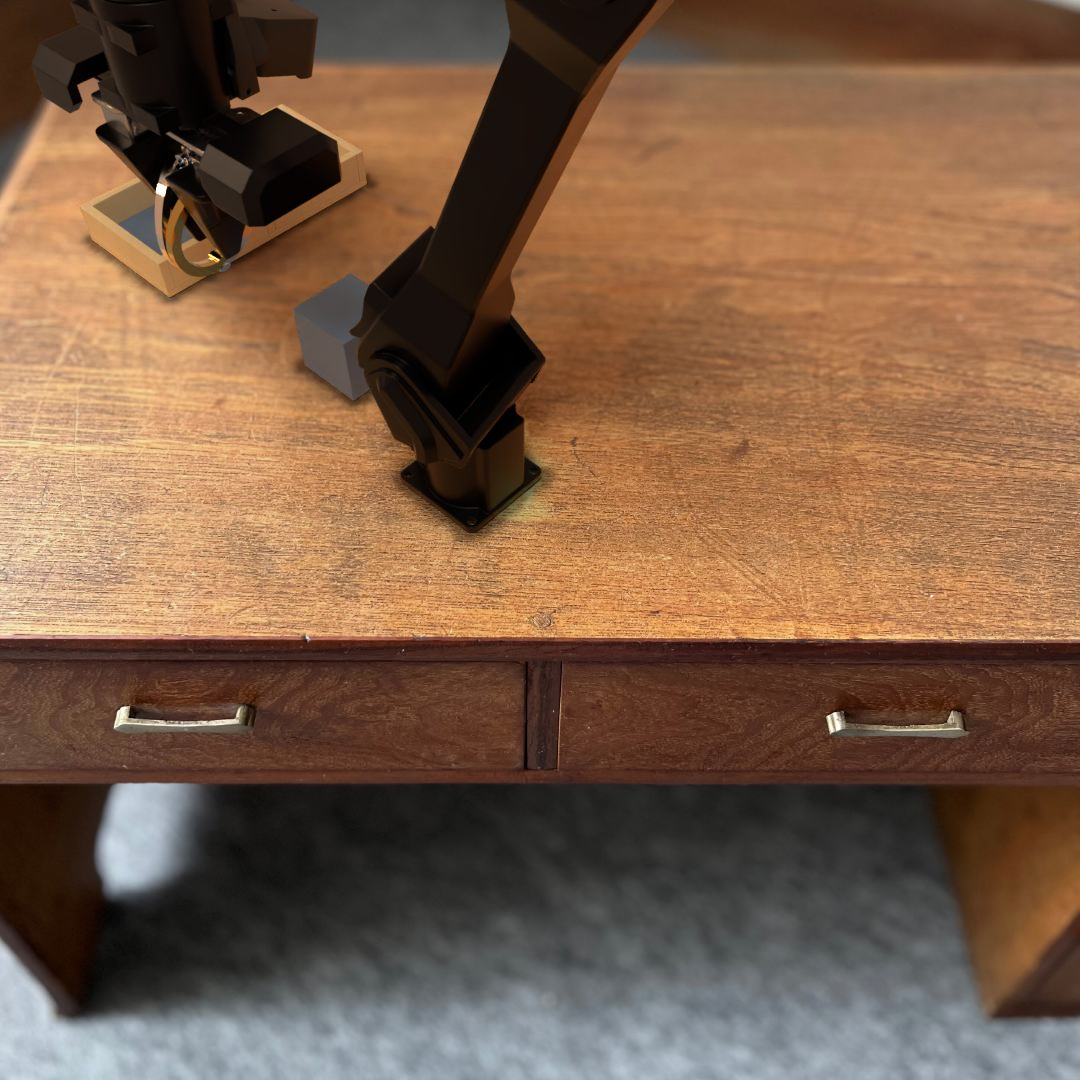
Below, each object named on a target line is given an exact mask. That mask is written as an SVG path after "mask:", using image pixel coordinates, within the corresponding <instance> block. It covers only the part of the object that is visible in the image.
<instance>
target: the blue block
mask: <svg viewBox="0 0 1080 1080" xmlns="http://www.w3.org/2000/svg"><path fill="white" fill-rule="evenodd" d="M368 286H369V284H368V283H366V282H365V281H364V280H361V279H360V278H359V277H357V276H355V275H354V274H352V273H348V274H346V275H344V276H343V277H341V278H340V279H338V280H337V281H335V282H334V283H332V284H330V285H329V286H327V287H326V288H324V289H322V290H321V291H319V292H318V293H316V294H314V295H313V296H311V297H309V298H308V299H306V300H304V301H303V302H301V303H300V304H298V305H297V306H296V305H295V307H293V308H292V315H293V318H294V323H295V326H296V331H297V336H298V340H299V345H300V349H301V354H302V359H303V363H304V366H305V367H306V368H307V369H308V370H310V371H312V372H313V373H314V374H315V375H317V376H319V378H321V379H322V380H323V381H325V382H327V383H328V384H329V385H331V386H332V387H333V388H335V389H336V390H337V391H339V392H340V393H342V395H345V396H346V397H347V398H349V399H350V400H352V401H356V400H357V399H359V398H361V396H363V395H365V394H366V393H367V392H369V391H370V389H369V387H368V385H367V382H366V380H365V377H364V369H362V368H360V367H359V364H358V359H357V354H356V353H357V344H358V342H359V340H360V339H361V338H358V337H355V336H352V335H351V334H350V332H349V331H350V330H351V329H352V328H353V327H354V326H355V325H356V324H357V323H358V322H359V321H360V320H361V317H362V311H363V300H364V297H365V294H366V291H367V289H368Z"/></svg>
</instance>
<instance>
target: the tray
mask: <svg viewBox="0 0 1080 1080" xmlns="http://www.w3.org/2000/svg"><path fill="white" fill-rule="evenodd" d="M276 107H277V108H279V109H281V110H283V111H284V112H286V113H288V114H290V115H292V116H293V117H295V118H297V119H299V120H301V121H302V122H304V123H306V124H308V125H310V126H311V127H313V128H315V129H317V130H318V131H320V132H322V133H324V134H326V135H327V136H329V137H331V138H333V139H335V140H336V141H337V144H338V151H339V158H340V164H341V171H342V177H341V182H340V183H338V184H336V185H335V186H333V187H331V188H329V189H328V190H326V191H324V192H323V193H321V194H319V195H318V196H316V197H314V198H313V199H311V200H309V201H307V202H306V203H304V204H302V205H301V206H299V207H297V208H296V209H294V210H292V211H291V212H289V213H287V214H286V215H284V216H282V217H280V218H279V219H277V220H275V221H274V222H272V223H270V224H269V225H267V226H265V227H252V229H251V232H250V235H249V237H248V239H247V241H246V243H245V245H244V247H243V249H242V250H241V252H240V253H239V254H238V255H237V257H236V258H235V259H234V260H233V261H232V262H234V261H236V260H237V259H239V258H241V257H243V256H245V255H247V254H248V253H250V252H252V251H253V250H256V249H257V248H259V247H261V246H262V245H264V244H266V243H267V242H269V241H271V240H272V239H274V238H276V237H277V236H279V235H282V234H283V233H285V232H286V231H289V230H290V229H291V228H294V227H296V226H297V225H299V224H301V223H302V222H305V220H308V219H309V218H311V217H312V216H314V215H316V214H318V213H320V212H321V211H323V210H325V209H326V208H329V207H330V206H332V205H334V204H335V203H336V202H338V201H340V200H342V199H344V198H346V197H347V196H350V195H351V194H352V193H354V192H356V191H358V190H359V189H362V188H363V187H365V186H366V185H368V181H367V180H368V179H367V172H366V166H365V159H364V158H365V157H364V151H363V150H361V148H358V147H357V146H355V145H353V144H351V143H350V142H348V141H346V140H345V139H343V138H341V137H339V136H338V135H336V134H334V133H332V132H331V131H329V130H328V129H326V128H325V127H322V126H320V125H319V124H317V123H315V122H314V121H312V120H310V119H309V118H307V117H305V116H303V115H301V114H300V113H298V112H297V111H295V110H294V109H292V108H290V107H288V106H286V105H285V104H283V103H280V104H278V105H276V106H274V107H272V108H270V109H268V110H266V111H264V112H263V113H260V114H261V115H262V114H264V113H266V112H268V111H270V110H272V109H274V108H276ZM155 197H156V196H155V195H154V194H153V193H152V192H151V191H150V190H149V189H148V188H147V187H146V186H145V185H144V184H143V183H142V182H141V181H140V179H139V178H138V177H137V176H136V177H134V178H132V179H130V180H128V181H126V182H124V183H122V184H120V185H118V186H115V187H114V188H112V189H110V190H108V191H106V192H104V193H102V194H100V195H97V196H95V197H94V198H92V199H90V200H88V201H86V202H84V203H82V204H80V205H79V206H78V207H79V210H80V213H81V216H82V219H83V220H84V223H85V225H86V229H87V231H88V233H89V236H90V239H91V240H92V241H93V242H95V243H96V244H97V245H99V246H100V247H101V248H102V249H104V250H105V251H106V252H108V253H109V254H111V255H112V256H113V257H115V258H116V259H117V260H119V261H120V262H121V263H122V264H123V265H125V266H127V267H128V268H130V270H132V271H133V272H135V273H136V274H137V275H138V276H140V277H142V278H143V279H144V280H145V281H146V282H148V283H149V284H150V285H152V286H153V287H154V288H156V289H158V290H159V291H160V292H161V293H162V294H164V295H165V296H166V297H168V298H172V297H173V296H175V295H177V294H178V293H180V292H182V291H185V290H186V289H187V288H190V286H193V285H195V284H196V283H198V282H199V281H201V280H203V279H205V278H206V277H207V276H204V277H194V276H191V275H188V274H186V273H185V272H183V271H181V270H180V269H178V268H177V267H175V266H174V265H172V264H171V263H170V262H169V261H168V260H167V259H166V257H165V256H164V255H163V253H162V251H161V249H160V247H159V244H158V240H157V236H156V229H155ZM170 215H171V213H170ZM181 246H182V251H183V254H184V256H185V258H186V259H187V261H188V262H199V261H203V260H205V259H208V255H209V253H210V252H211V251H213V250H214V249H215V248H214V246H213V245H212V244H211V243H210V241H209V240H208V238H206V239H204V240H202V241H197V240H196V239H194V238H193V237H192V236H191V235H190V234H189V232H188V231H187V230H186V229H185V228H183V232H182V239H181Z"/></svg>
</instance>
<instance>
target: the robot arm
mask: <svg viewBox="0 0 1080 1080" xmlns="http://www.w3.org/2000/svg"><path fill="white" fill-rule="evenodd" d="M675 1H676V0H504V5H505V6H504V7H505V12H506V18H507V23H508V30H509V38H508V43H507V47H506V48H507V49H506V51H505V53H504V56H503V59H502V61H501V63H500V66H499V68H498V71H497V73H496V76H495V78H494V80H493V83H492V85H491V89H490V91H489V93H488V95H487V98H486V101H485V103H484V106H483V108H482V110H481V113H480V116H479V118H478V120H477V123H476V126H475V127H474V130H473V133H472V135H471V138H470V140H469V143H468V145H467V148H466V150H465V153H464V155H463V157H462V160H461V163H460V165H459V167H458V170H457V172H456V175H455V177H454V180H453V182H452V185H451V186H450V187H451V188H450V190H449V192H448V195H447V198H446V200H445V202H444V204H443V207H442V209H441V213H440V214H439V217H438V220H437V222H436V225H435V228H434V227H433V226H432V225H429V226H428V227H427V228H426V229H425V230H424V231H423V232H422V233H421V234H420V235H418V237H417V238H416V239H414V240H413V242H411V244H410V245H408V246H407V247H406V248H405V249H404V250H403V251H402V252H401V253H400V254H399V255H398V256H397V257H396V258H395V259H394V260H393V261H392V262H391V263H390V264H389V265H388V266H387V267H385V268H384V270H383V271H382V272H381V273H380V274H378V276H376V277H375V278H374V280H372V281H371V282H370V283H369V284H368V285H369V286H368V289H367V291H366V294H365V297H364V300H363V311H362V317H361V320H360V321H359V322H358V323H357V324H356V325H355V326H354V327H353V328H352V329H351V330H350V331H349V332H350V334H351V335H352V336H355V337H358V338H361V339H360V340H359V342H358V344H357V353H356V354H357V359H358V364H359V367H360V368H362V369H364V377H365V380H366V382H367V385H368V387H369V389H370V390H369V391H370V393H371V395H372V397H373V399H374V402H375V403H376V405H377V407H378V409H379V411H380V413H381V415H382V417H383V419H384V421H385V423H386V424H387V427H388V429H389V431H390V434H391V435H392V437H393V439H394V440H395V441H397V442H398V443H401V444H404V445H405V446H408V447H410V450H411V451H412V452H413V453H414V457H415V459H416V460H414V461H413V462H412V463H411V464H409V465H408V466H406V467H405V468H404V469H402V470H401V471H400V480H401V483H403V484H404V485H405V486H407V488H409V489H410V490H412V491H413V492H414V493H416V495H418V496H419V497H421V498H422V499H424V500H425V501H426V502H428V503H429V504H430V505H431V506H433V507H434V508H435V509H436V510H438V511H440V512H441V513H442V514H444V515H445V516H446V517H448V518H449V519H450V520H451V521H453V522H454V523H455V524H457V525H458V526H460V527H461V528H462V529H464V530H465V531H466V532H469V533H474V532H475V533H476V532H477V531H479V529H481V528H482V527H483V526H484V525H486V524H487V523H488V522H490V521H491V520H492V519H493V518H494V517H496V516H497V515H498V514H500V512H502V511H503V510H504V509H505V508H507V507H508V506H509V505H510V504H511V503H512V502H514V501H515V500H516V499H518V498H519V497H520V496H521V495H522V494H523V493H525V492H526V491H527V490H528V489H529V488H530V487H532V486H533V485H534V484H536V483H537V482H538V481H539V480H540V479H541V478H542V475H543V474H542V471H543V470H542V468H541V467H540V466H539V465H537V464H536V463H535V462H533V461H532V460H530V459H529V458H528V457H526V456H525V418H524V417H523V416H522V415H520V414H519V413H518V412H517V404H516V403H517V401H518V399H520V397H521V396H522V395H523V394H524V392H525V391H526V390H527V389H528V388H529V386H530V385H532V384H533V383H535V382H536V380H537V379H538V378H539V375H540V373H541V371H542V370H543V368H544V366H545V364H546V363H547V359H546V356H545V355H544V353H543V351H541V350H540V348H539V347H538V346H537V345H536V343H535V342H534V341H533V339H532V338H531V337H530V336H529V335H528V334H527V332H526V331H525V330H524V328H523V327H522V326H521V325H520V323H519V322H518V321H517V320H516V319H515V317H514V316H513V315H512V312H513V308H514V304H515V301H516V295H515V294H516V293H515V289H514V286H513V282H512V278H511V277H512V273H513V269H514V267H515V265H516V264H517V262H518V259H519V258H520V256H521V254H522V252H523V250H524V248H525V246H526V245H527V242H528V241H529V239H530V237H531V235H532V233H533V231H534V229H535V227H536V226H537V223H538V221H539V220H540V217H542V214H543V212H544V210H545V208H546V206H547V204H548V203H549V201H550V199H551V196H552V195H553V193H554V191H555V190H556V186H557V185H558V183H559V181H560V179H561V178H562V176H563V173H564V172H565V170H566V168H567V167H568V164H569V162H570V161H571V158H572V157H573V154H574V153H575V151H576V149H577V147H578V145H579V143H580V141H581V139H582V138H583V135H584V134H585V132H586V130H587V129H588V126H589V125H590V123H591V120H592V118H593V117H594V114H595V113H596V111H597V108H598V107H599V105H600V103H601V101H602V99H603V98H604V95H605V93H606V91H607V90H608V89H609V86H610V84H611V82H612V80H613V78H614V76H615V74H616V72H617V70H618V69H619V67H620V66H621V64H622V62H623V61H624V60H625V59H626V57H627V56H628V55H629V54H630V53H631V51H633V49H634V48H635V47H636V46H637V45H638V43H639V42H640V41H642V39H643V38H644V36H645V35H646V34H647V33H648V32H649V31H650V30H651V29H652V27H653V26H654V25H655V24H656V23H657V22H658V20H659V19H660V18H661V17H662V16H663V14H665V12H666V11H667V10H668V9H669V8H670V7H671V6H672V4H673V3H674V2H675ZM70 5H71V7H72V11H73V14H74V16H75V20H76V23H78V24H79V25H77V26H74V27H71V28H70V29H68V30H65V31H63V32H60V33H58V34H56V35H54V36H51V37H49V38H47V39H45V40H42V41H39V44H38V46H37V48H36V51H35V54H34V56H33V59H32V62H31V64H30V66H31V68H32V71H33V73H34V77H35V79H36V82H37V84H38V87H39V90H40V92H41V95H42V97H43V98H45V99H46V100H47V101H49V102H50V103H52V104H54V105H56V107H59V108H60V109H62V110H63V111H65V112H67V113H68V114H72V113H75V112H77V111H79V110H80V108H81V106H82V104H83V102H84V101H83V98H82V94H81V92H80V89H79V85H80V84H83V83H85V82H87V81H89V80H91V79H94V80H96V81H97V86H98V89H96V90H95V91H93V92H91V93H90V97H91V99H92V101H93V102H94V103H95V104H96V105H98V106H100V108H101V111H102V114H103V117H104V120H105V122H104V123H102V124H100V125H98V126H97V127H96V128H95V130H94V132H95V135H96V137H97V139H98V140H99V141H100V142H102V143H103V144H104V145H106V146H107V147H108V148H109V150H110V151H112V152H113V154H115V156H116V157H117V158H118V159H119V160H120V161H121V162H122V163H123V164H124V166H126V167H127V168H128V169H129V171H131V172H132V174H134V175H135V176H136V177H138V178H139V179H140V181H141V182H142V183H143V184H144V185H145V186H146V187H147V188H148V189H149V190H150V191H151V192H152V193H153V194H154V195H155V196H156V191H157V186H158V182H159V178H160V175H161V172H162V169H163V166H164V164H165V161H166V159H167V157H168V156H169V155H170V153H171V152H173V151H174V150H176V149H180V148H181V145H185V146H186V147H188V148H190V149H191V150H193V151H194V152H196V153H193V154H191V155H190V157H191V161H192V163H191V164H189V165H187V166H185V167H183V168H181V169H179V170H177V171H176V172H174V173H172V174H170V175H168V176H166V177H165V180H166V181H167V183H168V184H169V186H170V187H171V188H172V190H173V192H172V198H171V209H170V213H172V211H173V209H174V207H175V205H176V203H177V201H178V200H180V201H181V202H182V204H183V205H184V206H185V208H186V209H187V211H188V212H189V214H188V217H187V219H186V222H185V225H184V228H185V229H186V230H187V231H188V232H189V234H190V235H191V236H192V237H193V238H194V239H196V240H197V241H202V240H204V239H206V238H208V240H209V241H210V243H211V244H212V245H213V246H214V248H215V249H216V250H217V251H218V253H219V254H220V255H221V256H222V257H223V258H224V259H226V260H227V259H230V258H231V257H233V256H235V255H236V254H238V253H239V252H240V250H241V244H242V238H243V232H244V226H245V225H247V226H248V227H265V226H267V225H269V224H270V223H272V222H274V221H275V220H277V219H279V218H280V217H282V216H284V215H286V214H287V213H289V212H291V211H292V210H294V209H296V208H297V207H299V206H301V205H302V204H304V203H306V202H307V201H309V200H311V199H313V198H314V197H316V196H318V195H319V194H321V193H323V192H324V191H326V190H328V189H329V188H331V187H333V186H335V185H336V184H338V183H340V182H341V177H342V171H341V164H340V158H339V151H338V144H337V141H336V140H335V139H333V138H331V137H329V136H327V135H326V134H324V133H322V132H320V131H318V130H317V129H315V128H313V127H311V126H310V125H308V124H306V123H304V122H302V121H301V120H299V119H297V118H295V117H293V116H292V115H290V114H288V113H286V112H284V111H283V110H281V109H279V108H277V107H276V106H275V107H276V108H274V107H273V108H274V109H272V108H271V109H272V110H270V109H269V110H270V111H268V110H267V111H268V112H266V111H265V112H266V113H264V112H263V113H264V114H262V113H259V112H257V111H255V110H254V109H252V108H250V107H247V106H238V107H232V104H231V101H233V100H234V99H236V98H237V99H239V100H240V101H245V100H247V99H248V98H250V97H253V96H254V95H257V94H259V93H260V92H261V89H260V83H259V78H278V77H280V78H281V77H296V78H297V79H299V80H307V79H310V78H312V77H313V70H314V62H315V52H316V44H317V43H316V42H317V35H318V34H317V33H318V25H319V16H318V15H317V14H316V13H314V12H312V11H310V10H309V9H306V8H304V7H302V6H300V5H298V4H296V3H294V2H293V1H291V0H71V1H70ZM261 114H262V115H261ZM470 523H473V524H470Z"/></svg>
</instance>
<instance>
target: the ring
mask: <svg viewBox="0 0 1080 1080" xmlns="http://www.w3.org/2000/svg"><path fill="white" fill-rule="evenodd" d="M193 153H196V152H194V151H193V150H191V149H190V148H188V147H186V146H185V145H181V148H180V149H176V150H174V151H173V152H171V153H170V155H169V156H168V157H167V159H166V161H165V164H164V166H163V169H162V172H161V175H160V178H159V182H158V186H157V191H156V197H155V229H156V236H157V240H158V244H159V247H160V249H161V251H162V253H163V255H164V256H165V257H166V259H167V260H168V261H169V262H170V263H171V264H172V265H174V266H175V267H177V268H178V269H180V270H181V271H183V272H185V273H186V274H188V275H191V276H194V277H204V276H206V277H208V276H212V275H214V274H217V273H218V272H220V273H225V272H227V271H228V270H229V269H230V268H231V263H232V262H234V261H235V260H234V259H235V258H236V257H237V255H238V254H239V253H240V252H241V250H242V249H243V247H244V245H245V243H246V241H247V239H248V237H249V235H250V232H251V229H252V227H248V226H247V225H245V226H244V232H243V238H242V244H241V250H240V252H239V253H238V254H236V255H235V256H233V257H231V258H230V259H227V260H226V259H224V258H223V257H222V256H221V255H220V254H219V253H218V251H217V250H216V249H214V250H213V251H211V252H210V253H209V255H208V259H205V260H203V261H199V262H188V261H187V259H186V258H185V256H184V254H183V251H182V246H181V239H182V232H183V228H184V225H185V222H186V219H187V217H188V214H189V212H188V211H187V209H186V208H185V206H184V205H183V204H182V202H181V201H180V200H178V201H177V203H176V205H175V207H174V209H173V211H172V213H171V215H170V209H171V198H172V192H173V190H172V188H171V187H170V186H169V184H168V183H167V181H166V180H165V177H166V176H168V175H170V174H172V173H174V172H176V171H177V170H179V169H181V168H183V167H185V166H187V165H189V164H191V163H192V161H191V157H190V155H191V154H193ZM233 260H234V261H233Z"/></svg>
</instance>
